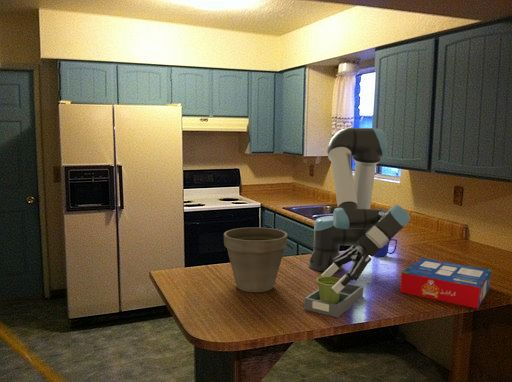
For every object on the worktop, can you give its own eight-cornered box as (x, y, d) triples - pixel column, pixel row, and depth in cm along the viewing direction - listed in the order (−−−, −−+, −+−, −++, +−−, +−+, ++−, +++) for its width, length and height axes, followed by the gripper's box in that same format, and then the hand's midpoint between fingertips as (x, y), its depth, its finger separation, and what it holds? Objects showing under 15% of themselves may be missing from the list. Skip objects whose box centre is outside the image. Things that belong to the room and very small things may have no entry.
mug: (396, 259, 230) (398, 239, 228) (371, 257, 232) (372, 238, 231) (395, 255, 238) (396, 236, 236) (371, 253, 240) (372, 234, 239)
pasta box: (419, 275, 205) (400, 292, 182) (420, 257, 204) (401, 272, 181) (489, 288, 190) (478, 309, 167) (491, 269, 189) (480, 287, 166)
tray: (303, 309, 161) (303, 298, 161) (331, 290, 182) (332, 280, 182) (337, 317, 155) (338, 306, 154) (362, 296, 176) (363, 286, 175)
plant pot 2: (325, 311, 157) (327, 286, 156) (310, 301, 166) (311, 278, 164) (347, 306, 162) (349, 282, 161) (331, 298, 170) (332, 275, 169)
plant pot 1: (209, 286, 182) (210, 232, 180) (250, 273, 201) (251, 224, 198) (258, 302, 167) (260, 243, 164) (298, 286, 185) (300, 233, 183)
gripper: (394, 258, 151) (347, 304, 151) (366, 240, 175) (326, 279, 175) (379, 243, 149) (332, 289, 149) (353, 226, 174) (313, 266, 174)
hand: (328, 284), depth 162 cm, fingers open, 13 cm apart
